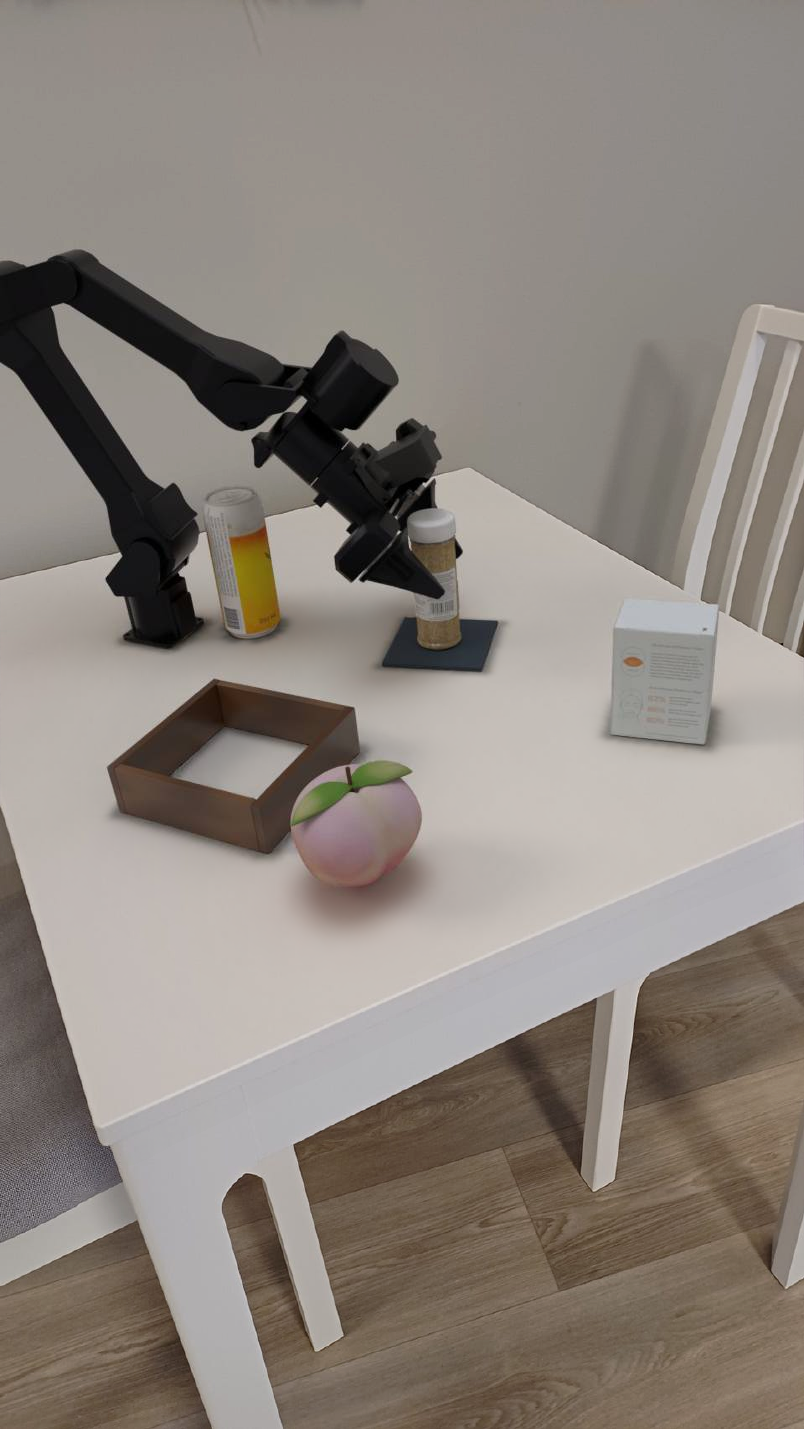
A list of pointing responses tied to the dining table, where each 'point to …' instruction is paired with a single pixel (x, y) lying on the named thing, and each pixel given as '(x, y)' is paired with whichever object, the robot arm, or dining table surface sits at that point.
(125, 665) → the dining table surface
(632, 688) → the small box
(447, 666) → the slate mat
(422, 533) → the sprinkles bottle
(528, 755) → the dining table surface
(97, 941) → the dining table surface
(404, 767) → the decorative fruit
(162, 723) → the walnut box
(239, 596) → the beer can
